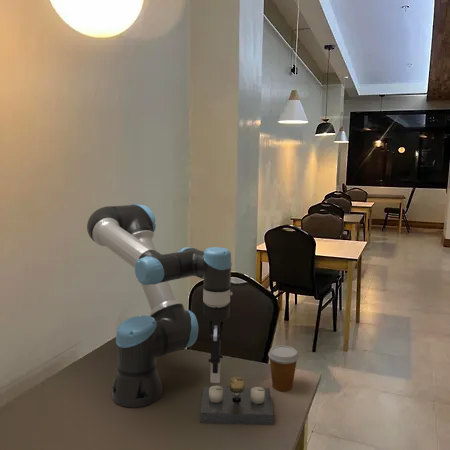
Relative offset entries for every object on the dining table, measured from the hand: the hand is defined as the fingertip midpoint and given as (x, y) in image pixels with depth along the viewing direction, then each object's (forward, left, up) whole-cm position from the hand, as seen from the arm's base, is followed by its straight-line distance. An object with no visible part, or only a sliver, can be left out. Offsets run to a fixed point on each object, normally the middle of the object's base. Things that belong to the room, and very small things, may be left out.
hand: (215, 381), depth 128 cm
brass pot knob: (+6, +2, -5) cm, 8 cm away
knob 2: (+12, +4, -8) cm, 15 cm away
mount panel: (+6, +2, -8) cm, 11 cm away
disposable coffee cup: (+15, +20, -9) cm, 26 cm away
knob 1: (0, 0, -8) cm, 8 cm away
